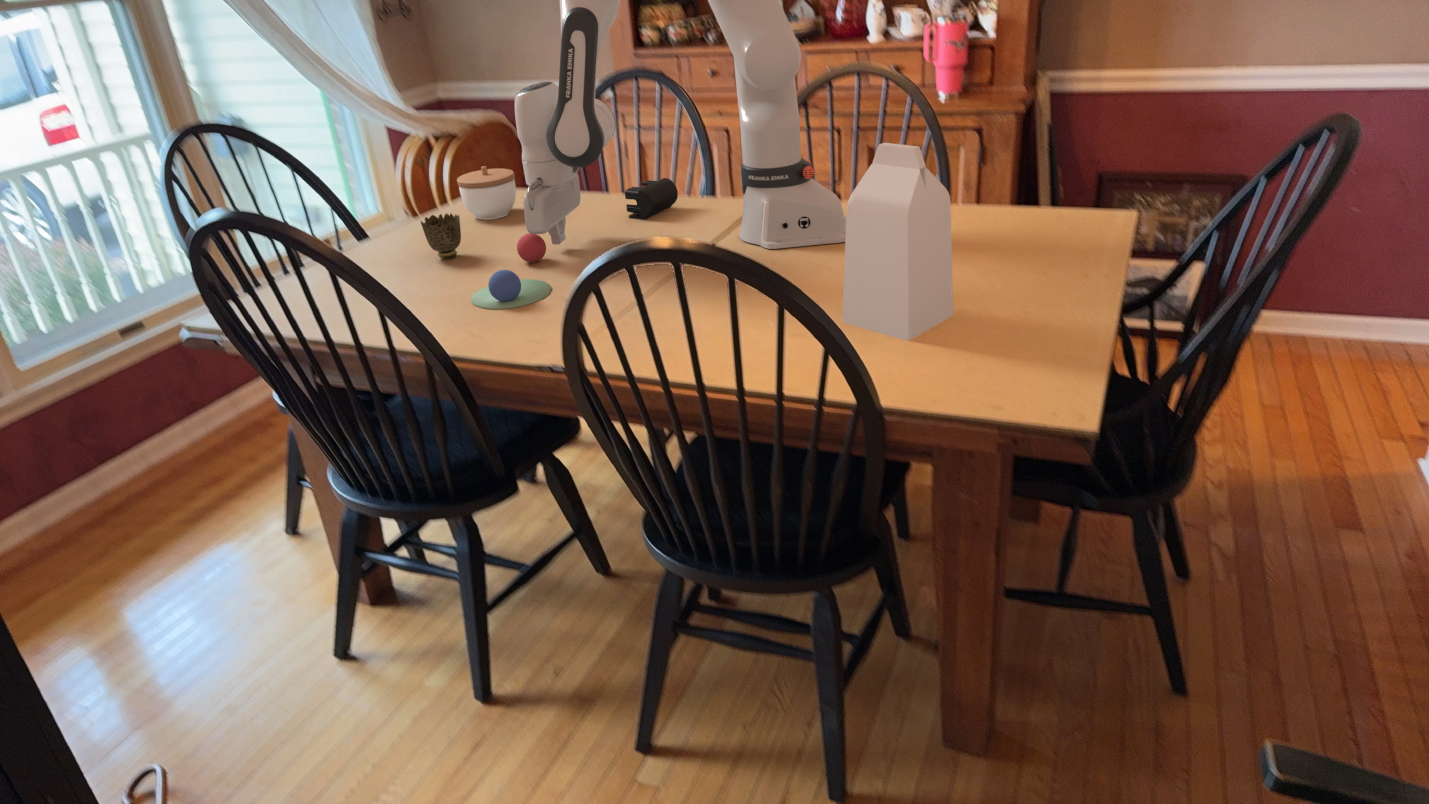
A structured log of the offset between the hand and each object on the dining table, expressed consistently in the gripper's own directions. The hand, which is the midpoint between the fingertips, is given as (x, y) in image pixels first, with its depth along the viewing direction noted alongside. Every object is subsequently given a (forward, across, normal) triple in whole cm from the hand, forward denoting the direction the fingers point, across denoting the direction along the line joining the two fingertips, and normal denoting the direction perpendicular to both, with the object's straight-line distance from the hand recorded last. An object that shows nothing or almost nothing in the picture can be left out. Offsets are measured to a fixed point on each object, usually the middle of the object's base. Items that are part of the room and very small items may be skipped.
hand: (559, 242), depth 188 cm
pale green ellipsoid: (+2, -24, 0) cm, 24 cm away
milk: (+2, -33, -67) cm, 75 cm away
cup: (+2, -4, +22) cm, 23 cm away
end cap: (+2, +24, -12) cm, 27 cm away
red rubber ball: (-1, -7, +3) cm, 7 cm away
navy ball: (-1, -27, -1) cm, 27 cm away
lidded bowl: (+2, +25, +26) cm, 36 cm away
